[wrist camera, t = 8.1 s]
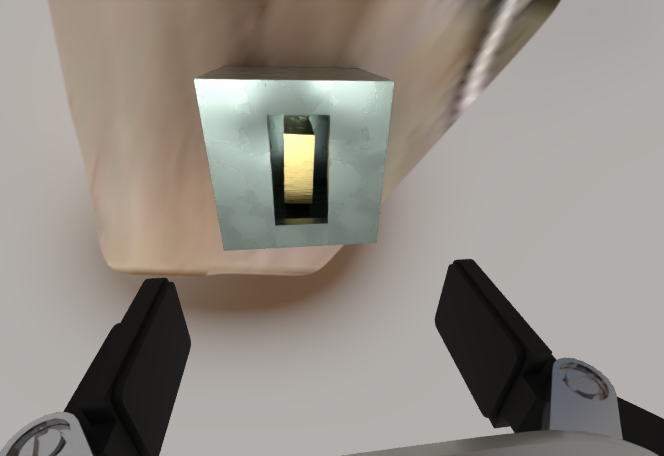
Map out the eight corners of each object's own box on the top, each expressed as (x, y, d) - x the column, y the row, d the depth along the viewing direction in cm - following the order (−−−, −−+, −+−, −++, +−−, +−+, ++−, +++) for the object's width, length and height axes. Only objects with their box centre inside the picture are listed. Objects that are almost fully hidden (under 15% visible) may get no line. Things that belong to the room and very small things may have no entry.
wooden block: (284, 178, 33) (283, 117, 30) (307, 178, 33) (309, 119, 30) (284, 203, 28) (283, 134, 25) (312, 203, 28) (314, 135, 25)
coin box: (223, 65, 28) (193, 79, 19) (358, 68, 30) (394, 81, 20) (240, 192, 34) (223, 250, 25) (351, 189, 36) (376, 242, 26)
